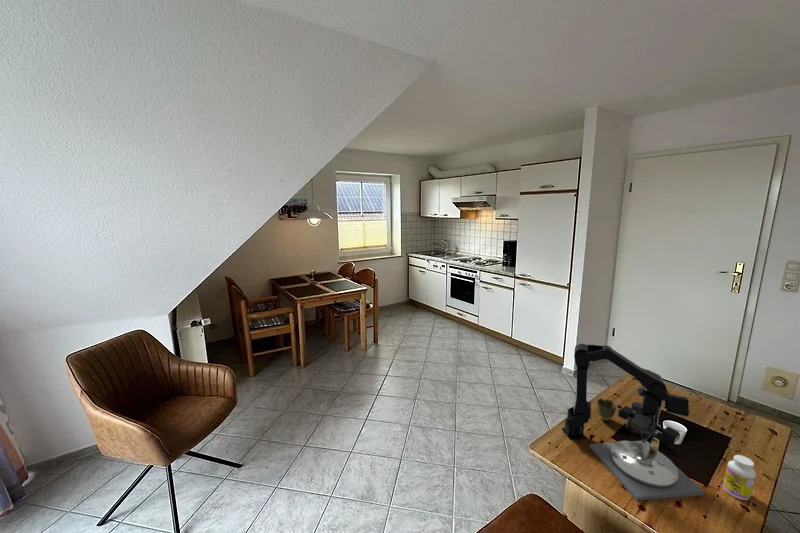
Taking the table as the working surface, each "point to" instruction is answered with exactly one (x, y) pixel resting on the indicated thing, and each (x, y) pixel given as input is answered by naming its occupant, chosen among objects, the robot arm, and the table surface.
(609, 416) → the cup
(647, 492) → the plate
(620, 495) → the table surface
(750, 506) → the table surface
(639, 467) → the grey round piece
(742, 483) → the supplement bottle
